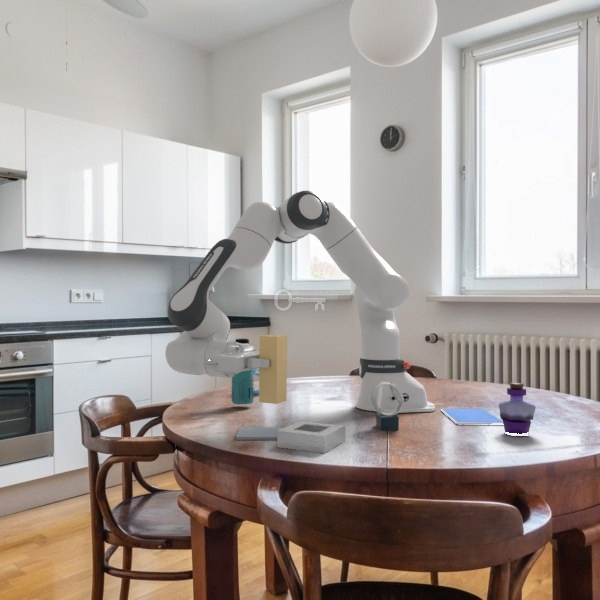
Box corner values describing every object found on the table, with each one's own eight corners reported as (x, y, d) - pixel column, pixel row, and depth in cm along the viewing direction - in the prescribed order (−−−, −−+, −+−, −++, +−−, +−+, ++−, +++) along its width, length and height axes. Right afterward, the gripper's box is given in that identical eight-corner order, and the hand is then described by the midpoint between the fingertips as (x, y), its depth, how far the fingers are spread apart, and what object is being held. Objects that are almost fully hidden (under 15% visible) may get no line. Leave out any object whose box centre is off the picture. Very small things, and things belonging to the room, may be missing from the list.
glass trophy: (406, 430, 139) (406, 384, 139) (373, 430, 138) (373, 384, 138) (400, 424, 144) (400, 381, 144) (369, 425, 144) (369, 381, 144)
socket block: (300, 436, 133) (300, 420, 133) (344, 441, 128) (344, 425, 128) (277, 447, 123) (277, 430, 123) (324, 453, 118) (324, 436, 118)
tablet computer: (439, 412, 163) (439, 407, 163) (483, 412, 163) (483, 407, 163) (456, 427, 144) (456, 422, 144) (507, 427, 144) (507, 422, 144)
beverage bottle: (250, 410, 163) (250, 339, 163) (227, 409, 165) (227, 339, 165) (256, 405, 170) (256, 338, 170) (235, 405, 171) (235, 337, 171)
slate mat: (281, 429, 139) (281, 427, 139) (280, 439, 129) (280, 437, 129) (239, 429, 139) (239, 427, 139) (235, 439, 129) (235, 437, 129)
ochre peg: (268, 399, 135) (269, 334, 135) (286, 400, 133) (286, 335, 133) (258, 402, 130) (259, 335, 130) (276, 403, 128) (277, 336, 128)
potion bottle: (504, 428, 141) (504, 379, 141) (541, 433, 135) (541, 382, 135) (491, 435, 134) (491, 383, 134) (529, 440, 128) (529, 387, 128)
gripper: (199, 348, 128) (252, 351, 122) (247, 342, 146) (296, 345, 140) (199, 377, 128) (252, 381, 122) (247, 367, 146) (296, 371, 140)
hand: (276, 362), depth 131 cm, fingers closed on ochre peg, 5 cm apart
